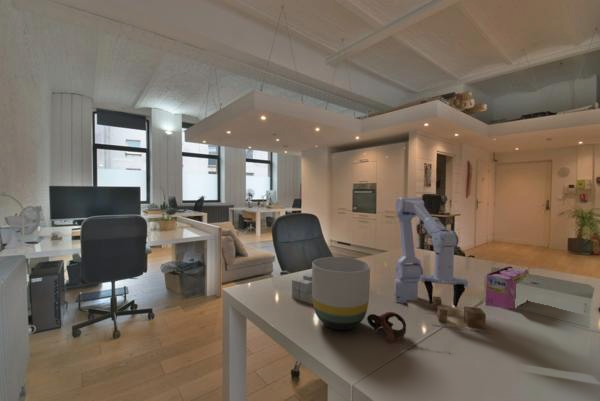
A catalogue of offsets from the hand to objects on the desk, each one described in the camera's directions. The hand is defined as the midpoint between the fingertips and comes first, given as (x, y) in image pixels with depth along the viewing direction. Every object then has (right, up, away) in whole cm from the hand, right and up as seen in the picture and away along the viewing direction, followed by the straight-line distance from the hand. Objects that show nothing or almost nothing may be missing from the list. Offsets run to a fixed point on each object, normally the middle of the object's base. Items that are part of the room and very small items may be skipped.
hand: (442, 304), depth 95 cm
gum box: (+37, -8, +20) cm, 43 cm away
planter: (-36, -7, -1) cm, 37 cm away
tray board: (+5, -7, +3) cm, 10 cm away
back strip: (+8, -7, +8) cm, 13 cm away
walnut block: (+9, -6, -3) cm, 11 cm away
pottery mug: (-22, -8, -7) cm, 24 cm away
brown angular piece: (+5, -7, -1) cm, 9 cm away
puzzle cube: (-45, -6, +23) cm, 51 cm away
